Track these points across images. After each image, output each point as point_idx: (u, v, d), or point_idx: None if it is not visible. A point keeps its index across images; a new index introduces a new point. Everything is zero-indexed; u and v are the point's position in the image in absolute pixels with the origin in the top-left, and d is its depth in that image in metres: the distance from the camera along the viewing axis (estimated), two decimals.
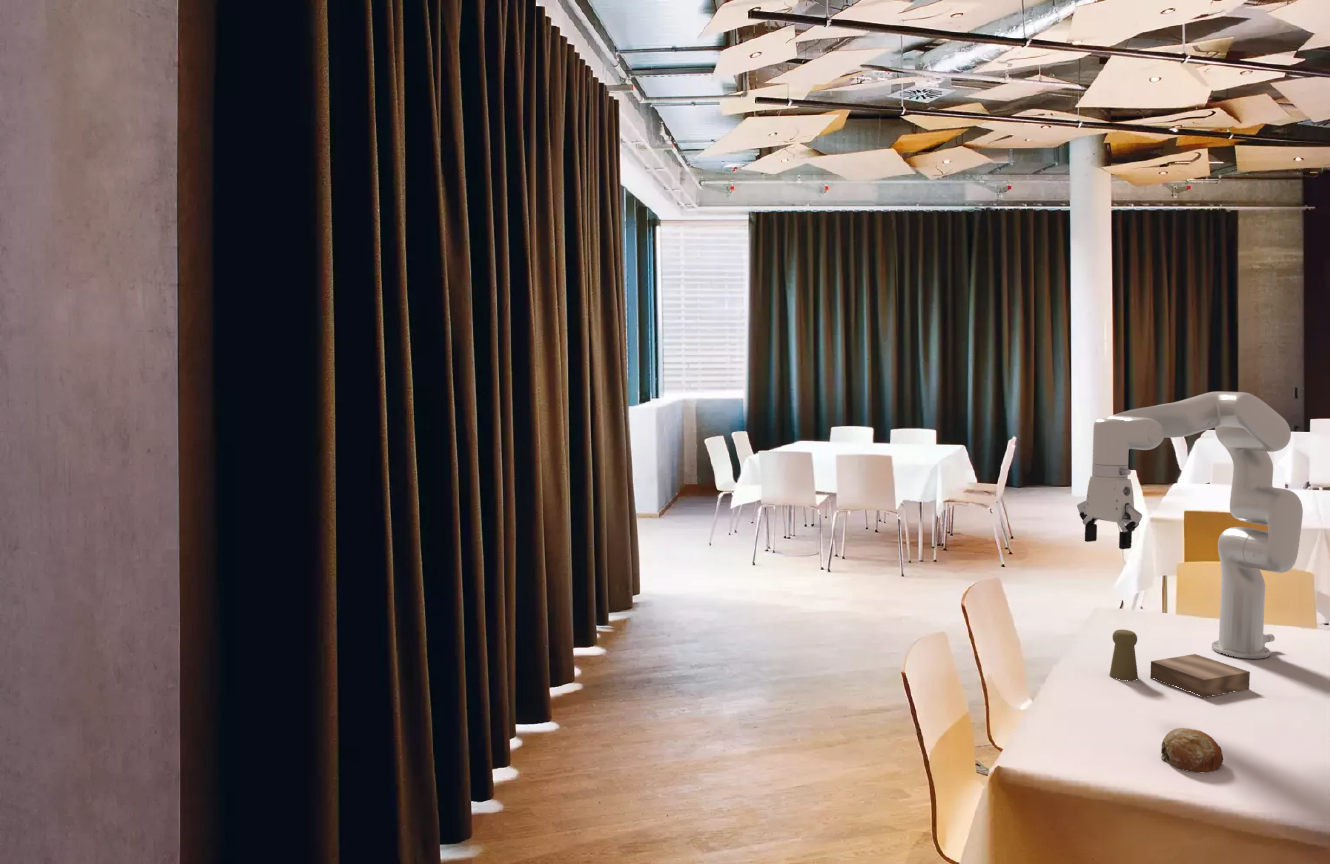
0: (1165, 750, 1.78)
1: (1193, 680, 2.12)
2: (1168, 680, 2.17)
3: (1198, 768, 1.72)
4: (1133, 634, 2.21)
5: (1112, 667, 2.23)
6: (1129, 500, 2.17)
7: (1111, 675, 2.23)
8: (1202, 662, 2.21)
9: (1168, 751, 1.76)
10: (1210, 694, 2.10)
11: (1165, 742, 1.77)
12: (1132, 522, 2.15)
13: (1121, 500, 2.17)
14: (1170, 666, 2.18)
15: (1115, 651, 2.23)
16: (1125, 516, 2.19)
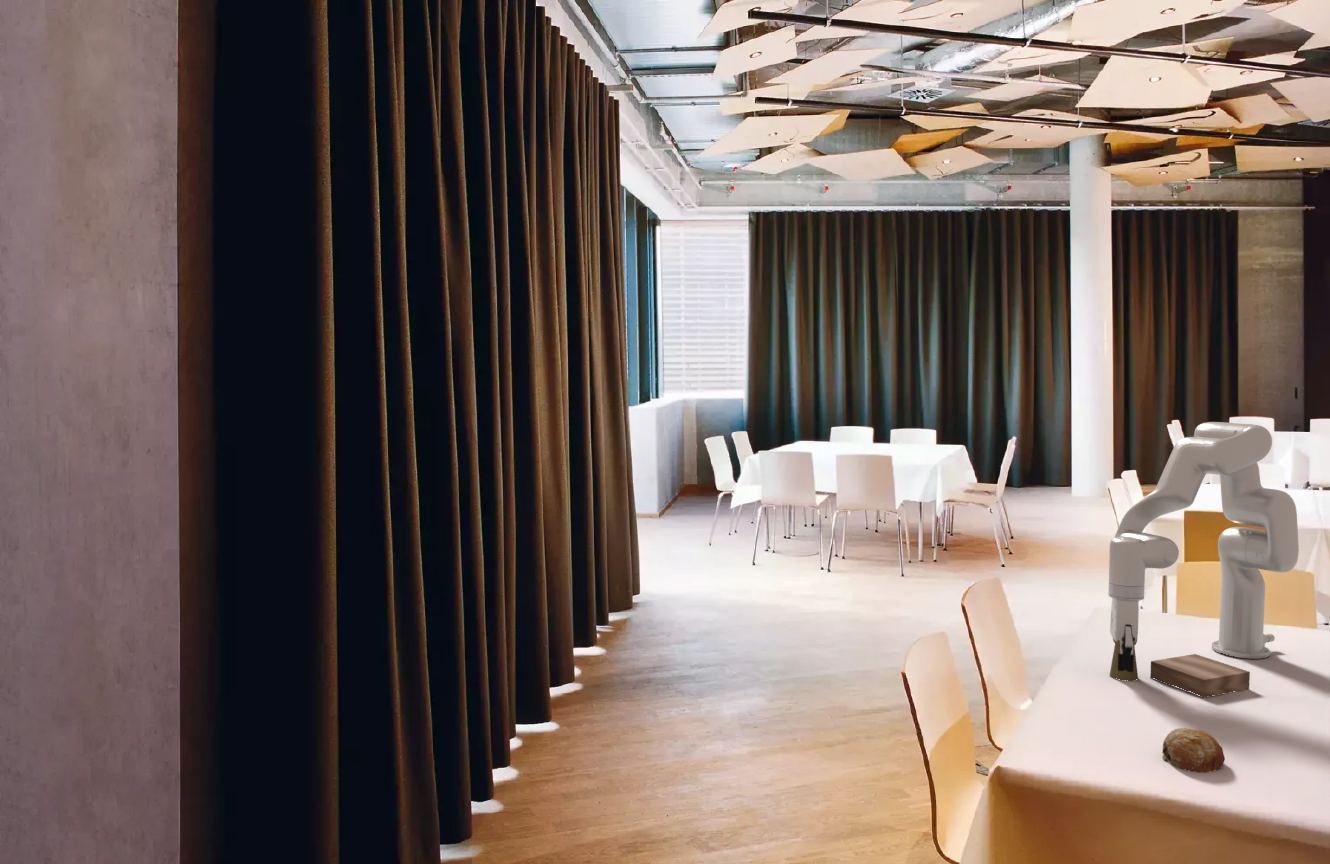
0: (1166, 750, 1.78)
1: (1193, 680, 2.12)
2: (1168, 680, 2.17)
3: (1199, 768, 1.72)
4: None
5: (1112, 667, 2.23)
6: None
7: (1111, 675, 2.23)
8: (1202, 662, 2.21)
9: (1169, 751, 1.76)
10: (1210, 694, 2.10)
11: (1166, 742, 1.78)
12: None
13: None
14: (1170, 666, 2.18)
15: (1115, 651, 2.23)
16: None
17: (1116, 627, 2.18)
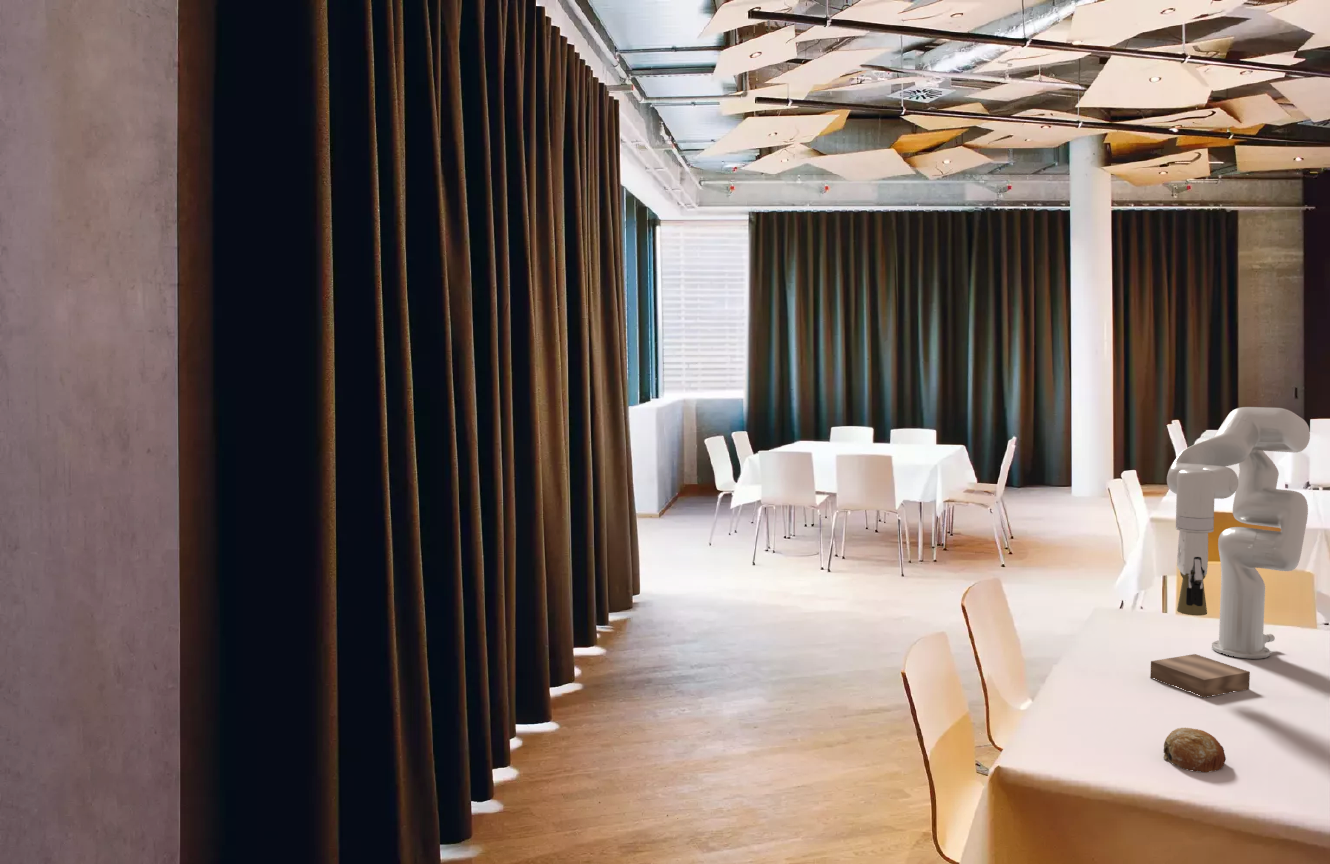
0: (1167, 750, 1.78)
1: (1193, 680, 2.12)
2: (1168, 680, 2.17)
3: (1200, 767, 1.72)
4: None
5: (1180, 602, 2.18)
6: None
7: (1179, 610, 2.18)
8: (1202, 662, 2.21)
9: (1170, 751, 1.76)
10: (1210, 694, 2.10)
11: (1167, 742, 1.78)
12: None
13: None
14: (1170, 666, 2.18)
15: (1183, 585, 2.17)
16: None
17: (1185, 560, 2.13)
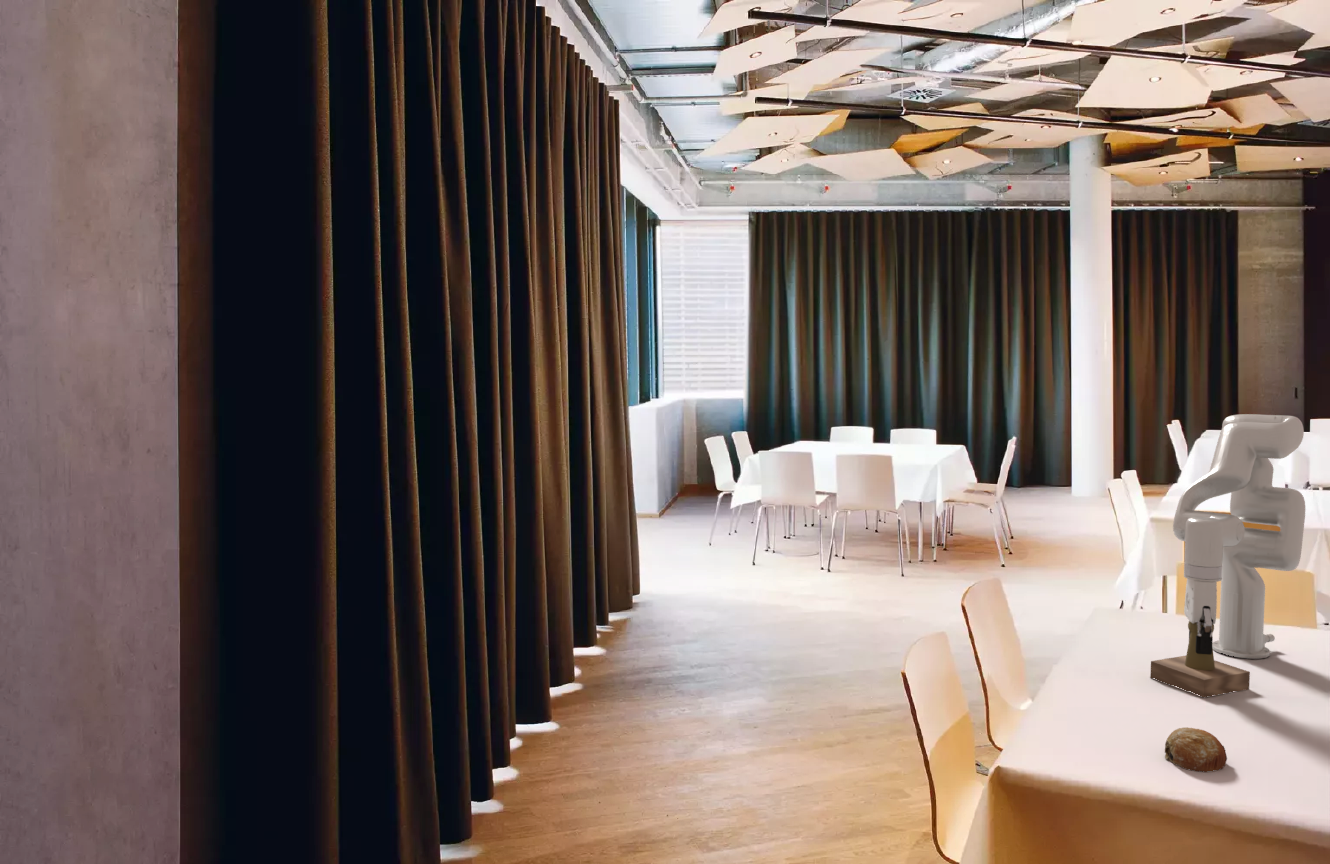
0: (1169, 750, 1.78)
1: (1193, 680, 2.12)
2: (1168, 680, 2.17)
3: (1201, 767, 1.72)
4: None
5: (1188, 656, 2.18)
6: None
7: (1187, 664, 2.18)
8: None
9: (1172, 751, 1.76)
10: (1210, 694, 2.10)
11: (1169, 742, 1.78)
12: None
13: None
14: (1170, 666, 2.18)
15: (1191, 640, 2.17)
16: None
17: (1193, 609, 2.13)
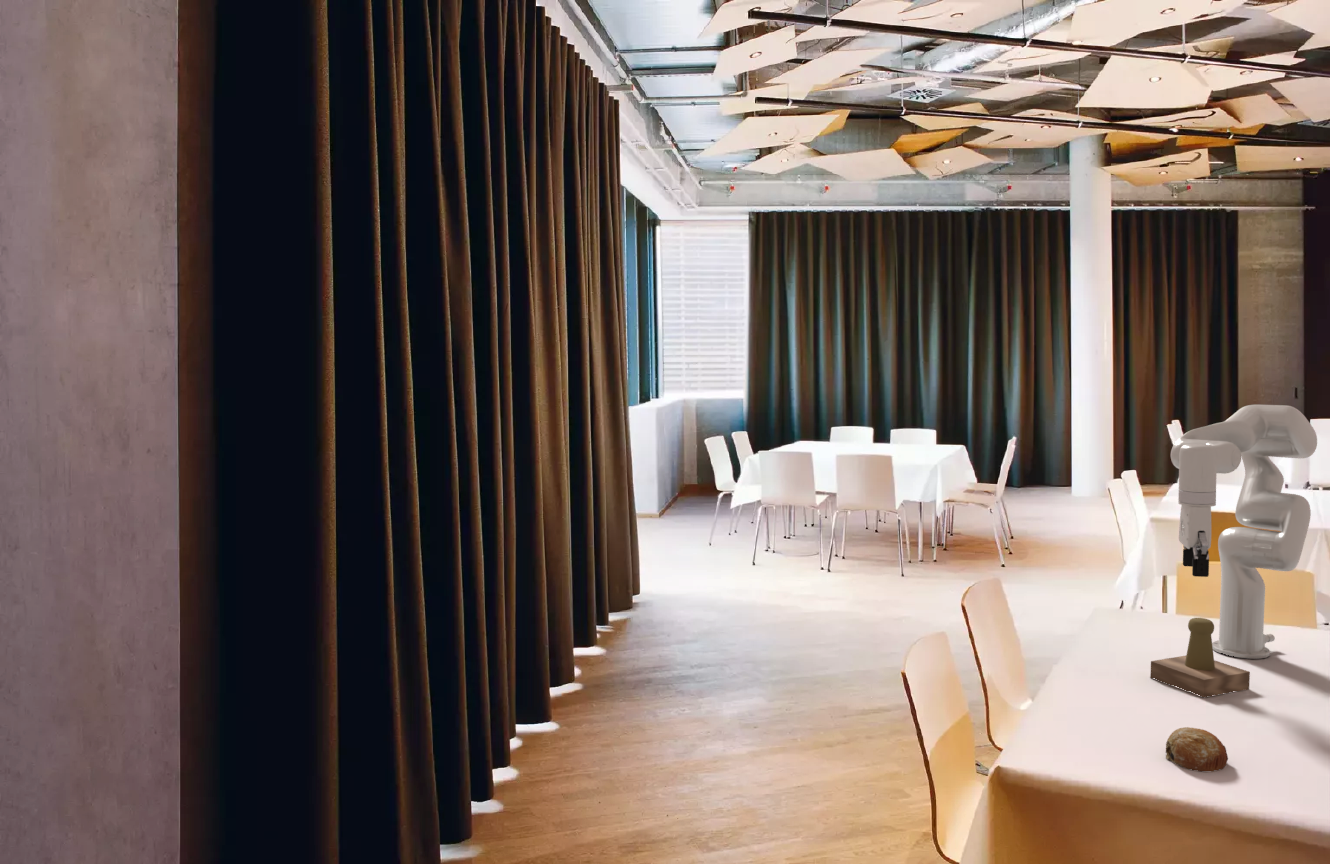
0: (1170, 749, 1.78)
1: (1193, 680, 2.12)
2: (1168, 680, 2.17)
3: (1202, 767, 1.72)
4: (1210, 622, 2.16)
5: (1188, 656, 2.18)
6: None
7: (1187, 664, 2.18)
8: None
9: (1173, 750, 1.76)
10: (1210, 694, 2.10)
11: (1169, 741, 1.78)
12: None
13: None
14: (1170, 666, 2.18)
15: (1191, 640, 2.17)
16: None
17: (1189, 534, 2.16)
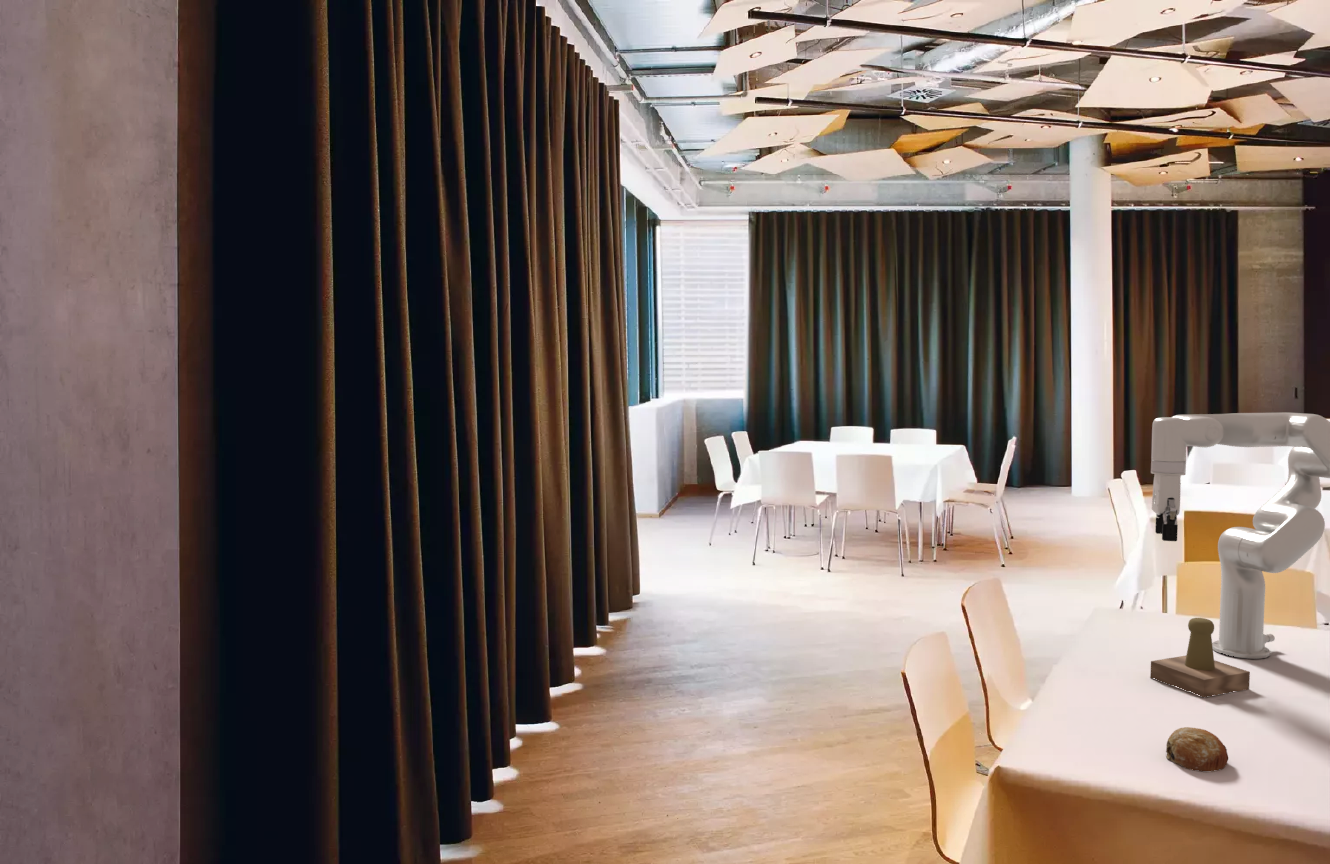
0: (1170, 749, 1.78)
1: (1193, 680, 2.12)
2: (1168, 680, 2.17)
3: (1203, 767, 1.72)
4: (1210, 622, 2.16)
5: (1188, 656, 2.18)
6: None
7: (1187, 664, 2.18)
8: None
9: (1173, 750, 1.76)
10: (1210, 694, 2.10)
11: (1170, 741, 1.78)
12: None
13: None
14: (1170, 666, 2.18)
15: (1191, 640, 2.17)
16: None
17: (1159, 501, 2.30)
